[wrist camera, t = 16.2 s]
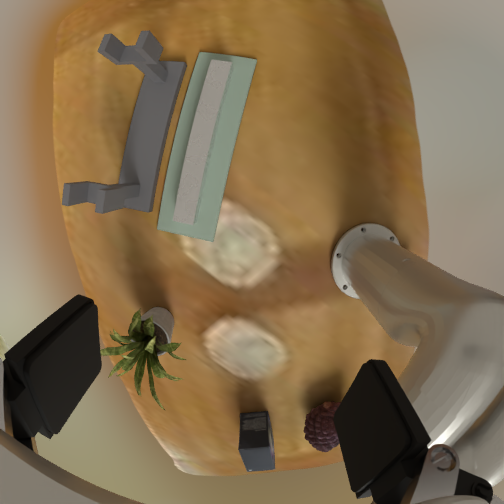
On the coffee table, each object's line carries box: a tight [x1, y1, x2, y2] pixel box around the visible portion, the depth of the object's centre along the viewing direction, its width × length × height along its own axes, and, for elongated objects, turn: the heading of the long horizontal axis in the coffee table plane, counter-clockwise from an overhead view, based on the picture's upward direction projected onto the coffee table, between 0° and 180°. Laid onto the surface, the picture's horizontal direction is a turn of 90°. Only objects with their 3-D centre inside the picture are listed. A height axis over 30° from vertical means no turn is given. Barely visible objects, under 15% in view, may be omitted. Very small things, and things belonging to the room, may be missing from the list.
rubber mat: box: [157, 52, 257, 242], centre depth 37 cm, size 9×29×1 cm, turn 167°
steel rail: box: [173, 60, 234, 225], centre depth 35 cm, size 3×24×3 cm, turn 167°
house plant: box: [100, 307, 186, 410], centre depth 38 cm, size 14×14×16 cm
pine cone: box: [304, 401, 341, 452], centre depth 46 cm, size 18×10×10 cm, turn 178°
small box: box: [238, 411, 275, 472], centre depth 47 cm, size 11×6×10 cm, turn 9°
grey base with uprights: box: [62, 31, 187, 214], centre depth 29 cm, size 6×24×16 cm, turn 167°
